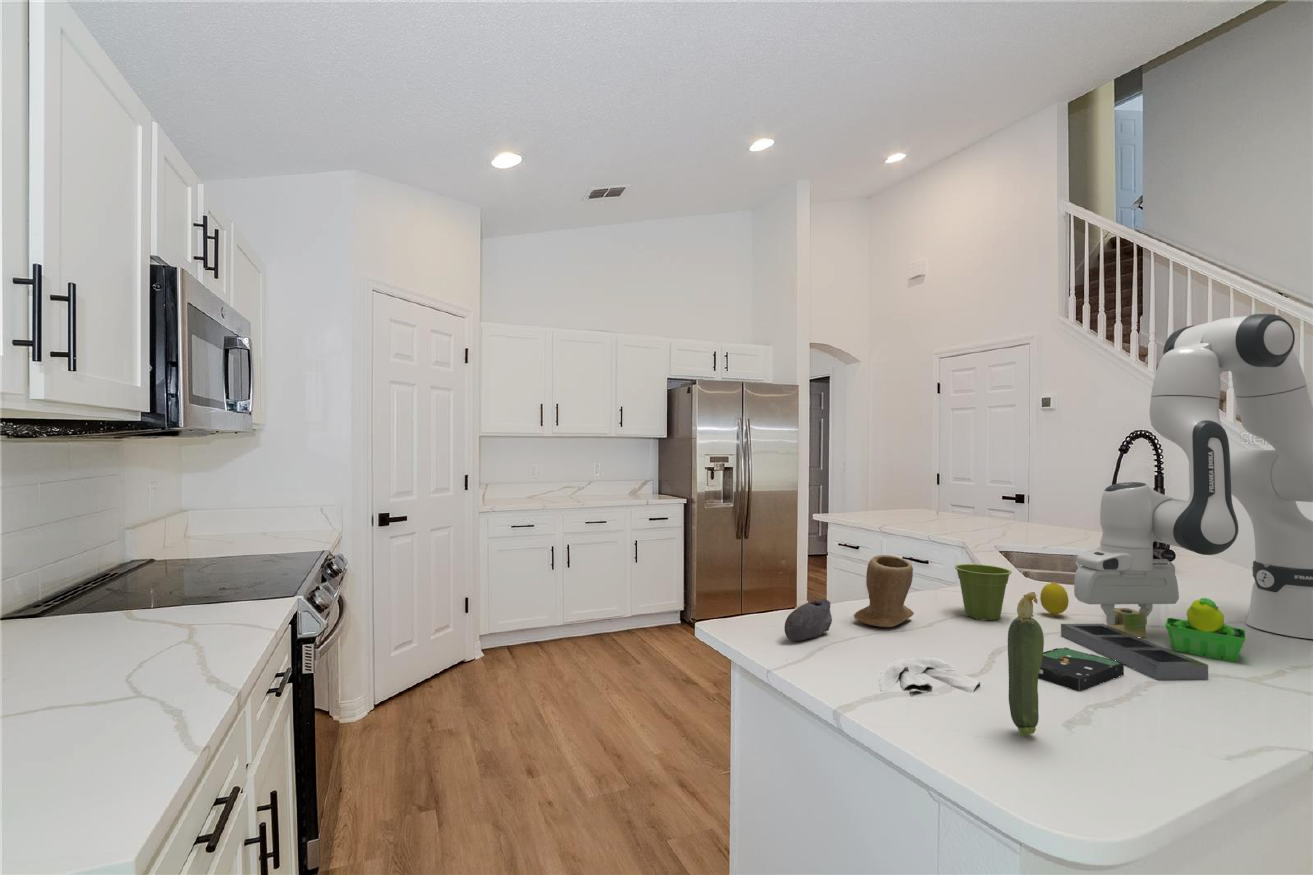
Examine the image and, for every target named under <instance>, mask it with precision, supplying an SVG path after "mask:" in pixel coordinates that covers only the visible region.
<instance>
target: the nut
mask: <svg viewBox="0 0 1313 875" xmlns="http://www.w3.org/2000/svg"><path fill="white" fill-rule="evenodd" d="M1112 611H1113V613H1114V615H1115V616H1117V617H1119V625H1110V624H1107V625H1108V626H1110V627H1113V628H1115V629H1118V630H1121V631H1123V632H1126V633H1128V634H1131V635H1133V636H1136V637H1146V635H1147V634H1146V630H1147V629H1146V628H1147V625H1146V619H1145V614H1144V613H1141V612H1139V610H1136V609H1133V608H1129V607H1114V609H1112ZM1146 638H1147V637H1146Z"/></svg>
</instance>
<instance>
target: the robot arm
mask: <svg viewBox="0 0 1313 875" xmlns="http://www.w3.org/2000/svg"><path fill="white" fill-rule="evenodd" d="M1295 334H1296V333H1295V330H1294V328H1293V327H1292V325H1291V324H1290V323H1289V322H1288V321H1287V320H1286V319H1285V318H1284V317H1282V316H1281V315H1278V314H1273V313H1255V314H1254V313H1253V314H1250V315H1245V316H1244V315H1242V316H1232V317H1231V316H1230V317H1225V318H1219V319H1216V320H1213V321H1208V322H1203V323H1201V324H1200V323H1199V324H1197V325H1188V326H1185V327H1182V328H1180V329H1178V330H1176V331H1174V332H1172V333H1171V334H1169V336H1168V337H1167V340H1165V344H1164V346H1163V354H1162V357H1161V358H1160V361H1159V363H1158V366H1157V369H1156V372H1155V376H1154V379H1153V383H1152V389H1151V393H1150V394H1151V396H1150V404H1149V420H1150V425H1151V426H1152V428H1153V430H1155V431H1156V432H1157V434H1159V435H1160V436H1162V437H1163V438H1164V439H1166V440H1168V441H1170V442H1172V443H1174V445H1175V444H1176V445H1177V446H1178V447H1179V448H1181V449H1182V451H1184V454H1186V457H1187V459H1188V476H1189V478H1188V482H1189V483H1188V484H1189V496H1188V497H1189V498H1188V499H1187V500H1182V499H1178V498H1177V499H1176V498H1173V497H1170V496H1168V495H1165V494H1163V493H1160V492H1158V491H1156V490H1155V489H1153V488H1151V487H1150V486H1149V485H1148V484H1147V483H1145V482H1137V481H1136V482H1135V481H1131V482H1119V483H1115V484H1111V485H1109V486H1107V487H1105V488H1104V491H1103V493H1102V495H1101V502H1100V510H1099V512H1100V514H1099V515H1100V516H1099V519H1100V520H1099V522H1100V526H1101V530H1102V535H1101V539H1100V542H1099V543H1100V547H1098V548H1097V547H1096V548H1095V549H1092V550H1090V551H1087V552H1083V553H1081V554H1079V555H1077V556H1076V563H1077V565H1078V568H1077V569H1076V571H1075V574H1074V581H1073V582H1074V584H1073V588H1074V590H1073V594H1074V597H1075V598H1076V599H1077V601H1078V602H1080V603H1083V604H1087V605H1100V608H1101V609H1102V611H1103V613H1104V614H1105V616H1106V617H1105V620H1106V623H1107V624H1106V625H1108V624H1110V625H1119V617H1117V616H1115V615H1114V613H1113V611H1112V609H1114V608H1115V605H1137V606H1138V607H1139V610H1138V612H1141V613H1144V614H1145V619H1146V626H1147V625H1148V617H1149V615H1150V614H1151V613H1152V611H1153V606H1154V605H1175V604H1177V602H1178V601H1179V599H1180V594H1179V593H1180V592H1179V586H1178V580H1177V576H1176V567H1175V565H1174V564H1173V562H1172V561H1169V559H1166V558H1159V559H1157V558H1154V556H1153V555H1154V554H1153V553H1154V552H1153V551H1154V548H1153V547H1154V546H1153V544H1154V542H1157V543H1162V544H1166V545H1168V546H1172V547H1177V548H1183V549H1185V550H1188V551H1191V552H1193V553H1195V554H1198V555H1202V556H1203V555H1204V556H1213V555H1219V554H1221V553H1223V552H1225V551H1227V550H1228V549H1229V548H1230V547H1231V546H1232V545H1233V544H1234V543H1235V541H1236V540H1237V537H1238V534H1239V523H1238V522H1239V521H1238V518H1237V515H1236V512H1235V509H1234V505H1233V500H1232V499H1233V498H1232V496H1233V497H1235V499H1237V500H1238V502H1239V503H1240V504H1241V506H1243V508H1244V510H1245V511H1246V513H1247V515H1248V517H1249V519H1250V521H1251V524H1252V528H1253V537H1254V549H1255V550H1254V551H1255V553H1254V554H1255V556H1254V557H1255V559H1254V561H1252V567H1251V570H1252V577H1253V578H1254V583H1253V585H1252V589H1251V596H1250V601H1249V602H1250V603H1249V609H1248V610H1249V611H1248V612H1247V613H1246V616H1245V618H1246V621H1245V624H1246V625H1248V626H1250V627H1252V628H1255V629H1258V630H1262V631H1263V632H1264V631H1265V632H1269V633H1273V634H1278V635H1283V636H1288V637H1293V638H1300V639H1301V638H1302V639H1310V640H1313V520H1311V519H1310V518H1307V517H1306V516H1305V515H1304V514H1303V512H1301V510H1300V509H1299V507H1298V504H1297V502H1305V503H1313V403H1312V400H1311V398H1310V394H1309V390H1308V386H1307V382H1306V378H1305V373H1304V371H1303V368H1302V366H1301V363H1300V361H1299V359H1298V357H1297V355H1296V352H1295V351H1294V350H1293V348H1294V345H1295V342H1296V341H1295V339H1296V337H1295ZM1223 372H1230V373H1231V381H1232V386H1233V387H1232V389H1233V393H1234V398H1235V402H1236V405H1237V410H1238V414H1239V418H1240V421H1241V425H1242V427H1243V429H1244V430H1245V431H1246V432H1247V433H1249V434H1251V435H1253V436H1254V437H1257V438H1259V439H1262V440H1263V441H1265V442H1267V443H1268V444H1269V445H1270V446H1271V447H1272V448H1273V449H1252V450H1251V449H1250V450H1245V451H1238V452H1233V453H1230V443H1229V442H1230V441H1229V437H1228V434H1227V432H1226V429H1225V428H1224V426H1222V422H1221V417H1220V399H1221V383H1222V382H1221V374H1222V373H1223Z"/></svg>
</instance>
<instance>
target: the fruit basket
mask: <svg viewBox="0 0 1313 875" xmlns="http://www.w3.org/2000/svg"><path fill="white" fill-rule="evenodd" d="M1186 616H1187V618H1186V619H1187V620H1186V619H1180V618H1173V617H1167V619H1166V622H1165V623H1164V624H1165V629H1166V630H1167V632H1168V635H1169V640H1170V643H1171V646H1172V651H1174V650H1175V651H1174V652H1177V651H1180V652H1179V653H1183V652H1185V653H1184V654H1189V653H1190V654H1189V655H1192V656H1193V655H1195V656H1199V655H1200V656H1201V657H1206V658H1210V659H1215V660H1223V661H1227V662H1232V663H1237V662H1238V659H1239V657H1240V654H1241V650H1242V647H1243V645H1244V643H1245V641H1246V639H1247V637H1246V630H1245V629H1243V628H1237V627H1232V626H1231V625H1227V624H1225V623H1224V622H1225V615H1224V614H1223V612H1222V611H1221V610H1220V609H1219V606H1217V604H1216V602H1214V601H1213V600H1212V599H1211V598H1207V597H1202V598H1199V599H1196V600H1194V601H1193V602H1192V603H1191V605H1190V606H1189V607H1188V609H1187V610H1186ZM1200 656H1199V657H1200Z"/></svg>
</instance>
